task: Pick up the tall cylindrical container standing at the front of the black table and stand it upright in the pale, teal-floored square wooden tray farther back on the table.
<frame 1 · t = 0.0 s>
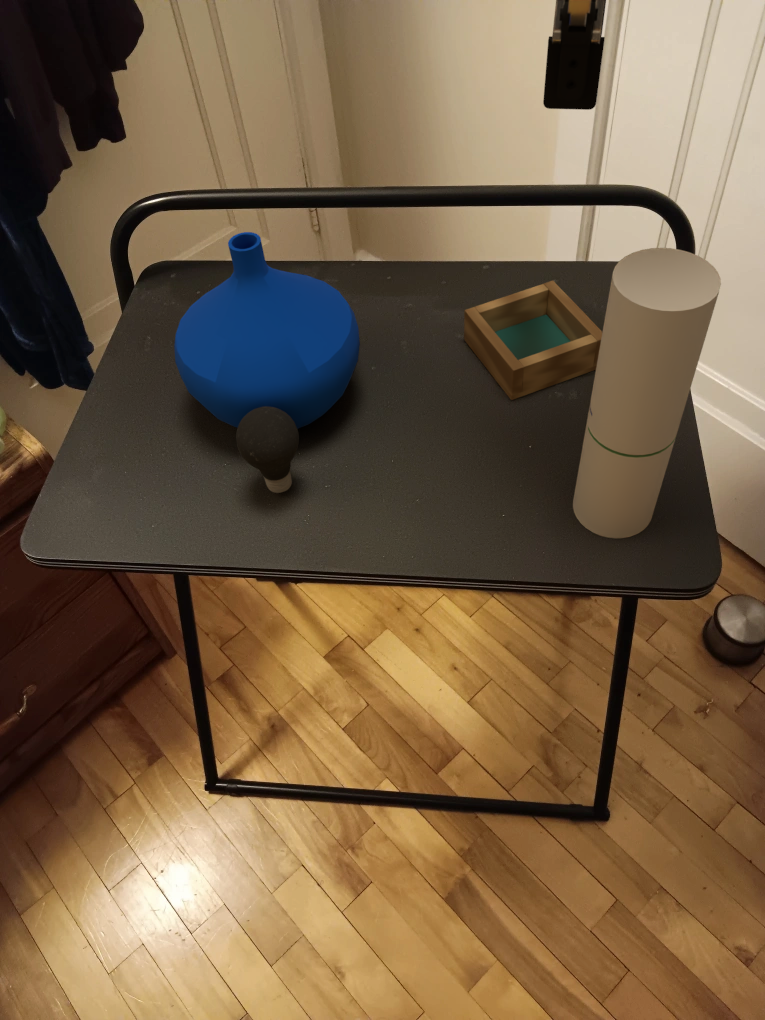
hand: (573, 71, 54), 35 cm above the table, tool pointing down, fingers open, 9 cm apart
light bulb: (281, 489, 80), on the table
cylindrical container: (612, 508, 76), on the table
square wooden tray: (531, 353, 90), on the table
vase: (280, 399, 88), on the table
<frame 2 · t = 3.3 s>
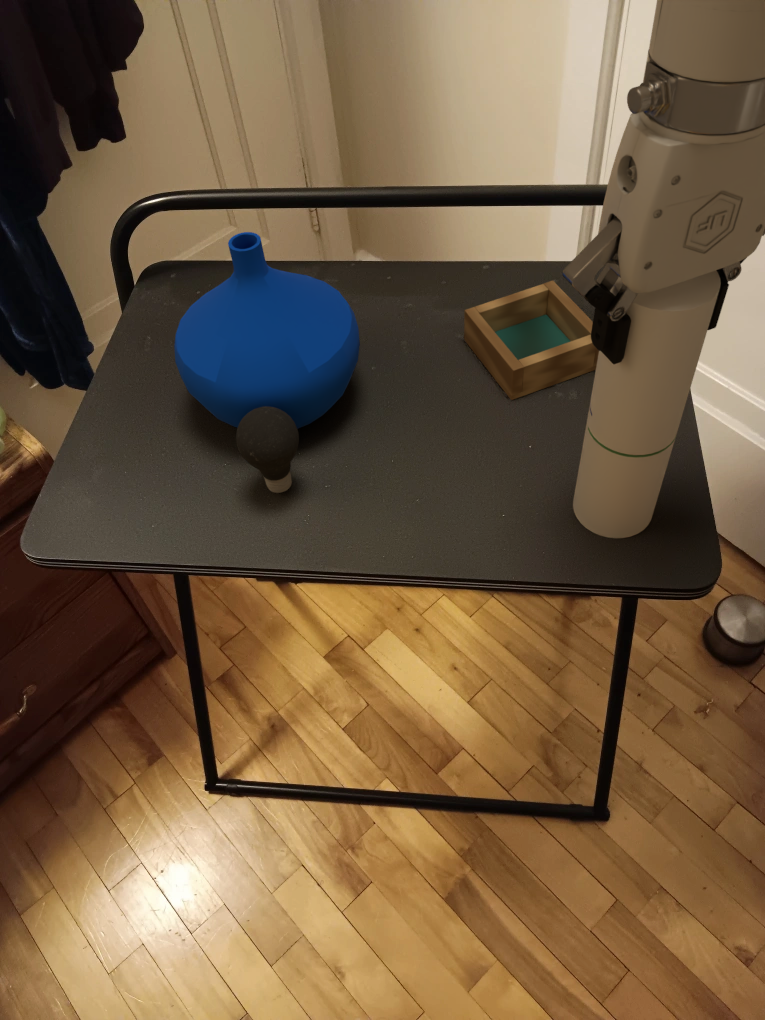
hand: (653, 333, 60), 20 cm above the table, tool pointing down, fingers closed on cylindrical container, 7 cm apart
cylindrical container: (612, 508, 76), on the table, touching gripper
everything else where it was.
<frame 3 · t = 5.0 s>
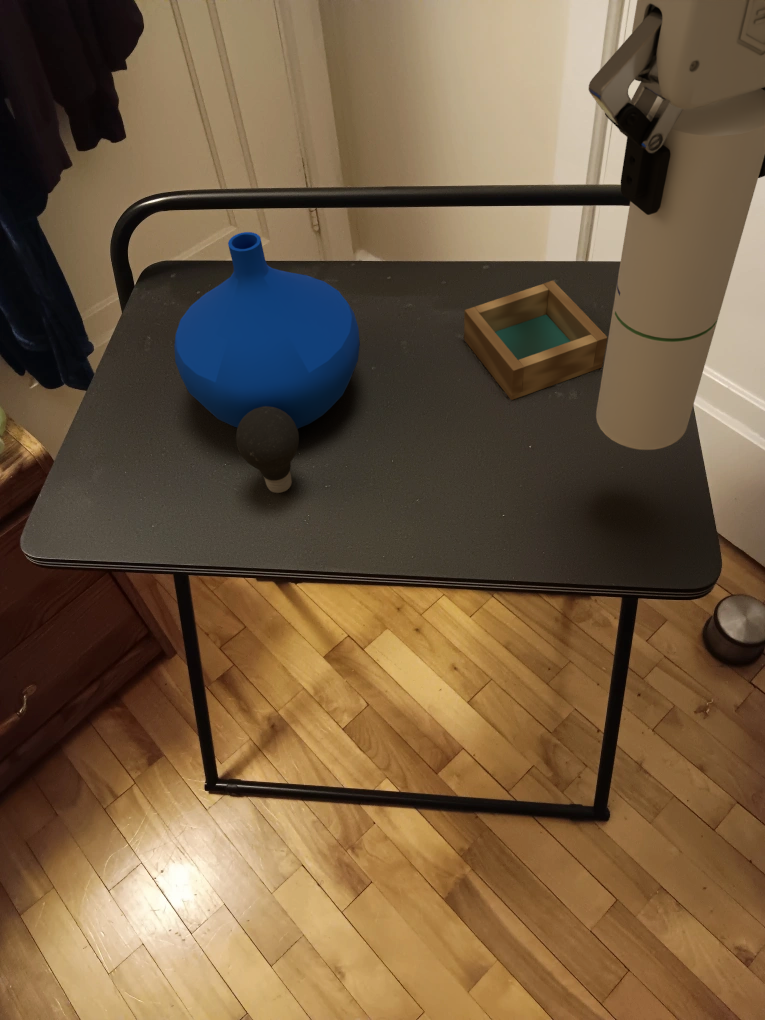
hand: (693, 183, 51), 32 cm above the table, tool pointing down, fingers closed on cylindrical container, 7 cm apart
cylindrical container: (641, 419, 67), point 12 cm above the table, touching gripper
everything else where it was.
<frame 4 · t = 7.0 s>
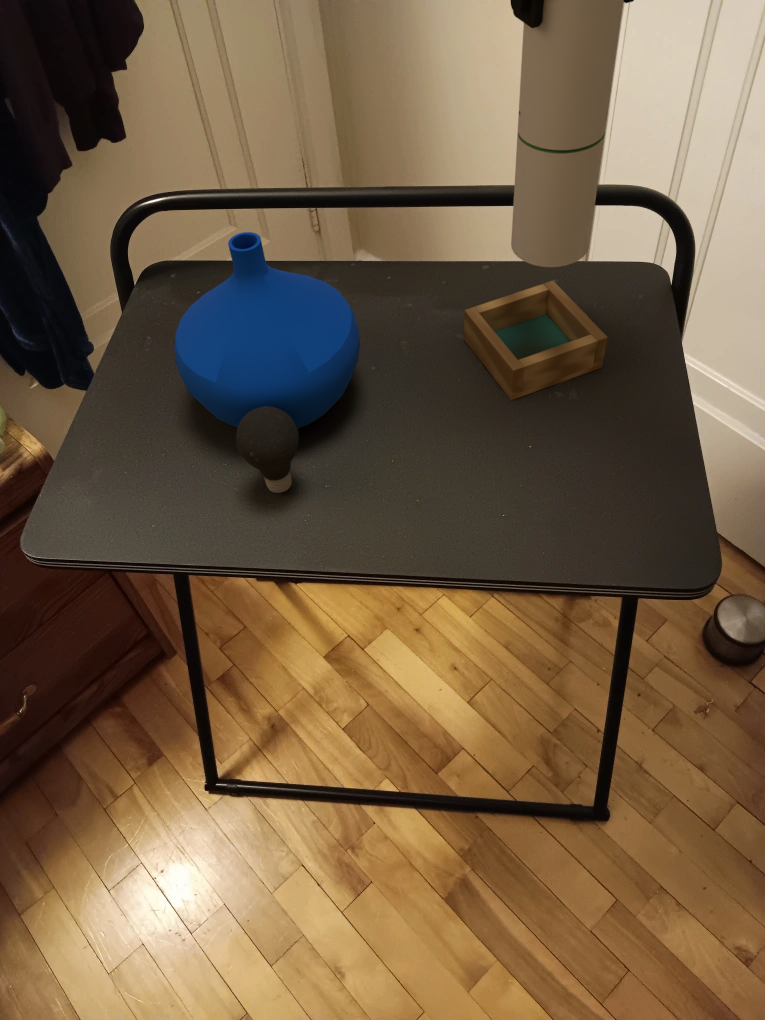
hand: (573, 6, 61), 35 cm above the table, tool pointing down, fingers closed on cylindrical container, 7 cm apart
cylindrical container: (549, 246, 77), point 15 cm above the table, touching gripper
everything else where it was.
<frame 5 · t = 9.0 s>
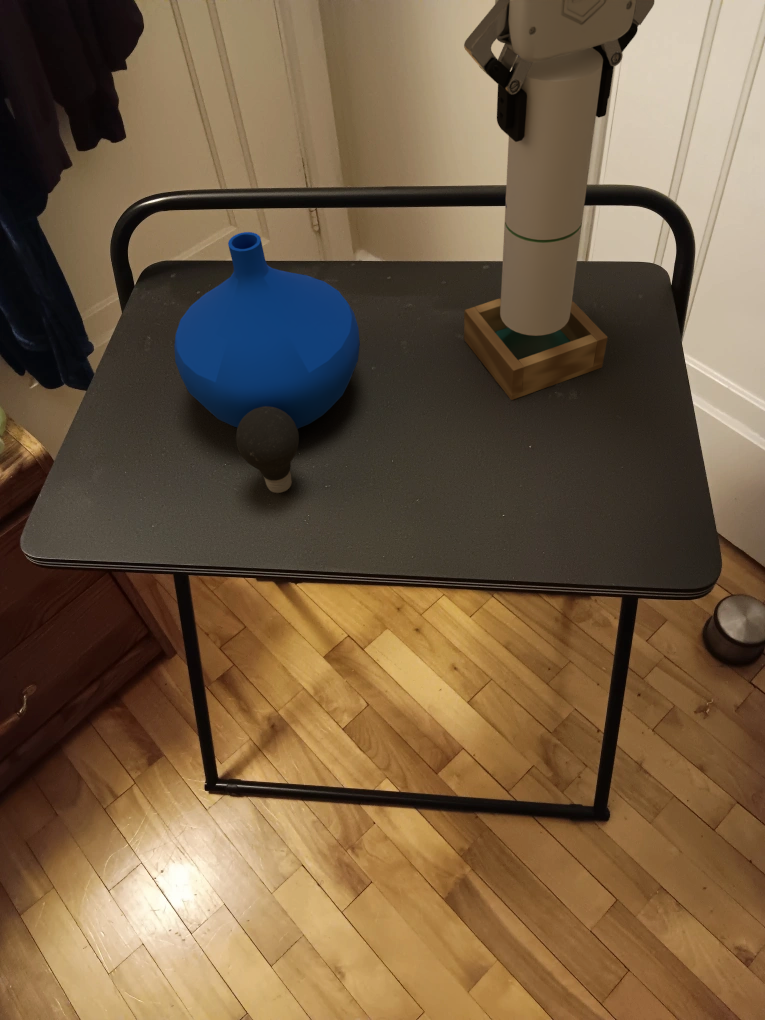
hand: (552, 120, 70), 26 cm above the table, tool pointing down, fingers closed on cylindrical container, 7 cm apart
cylindrical container: (534, 314, 86), point 5 cm above the table, touching gripper
everything else where it was.
when the fingers open (21 cm above the table, at t = 10.7 s): cylindrical container stays where it is, resting on square wooden tray.
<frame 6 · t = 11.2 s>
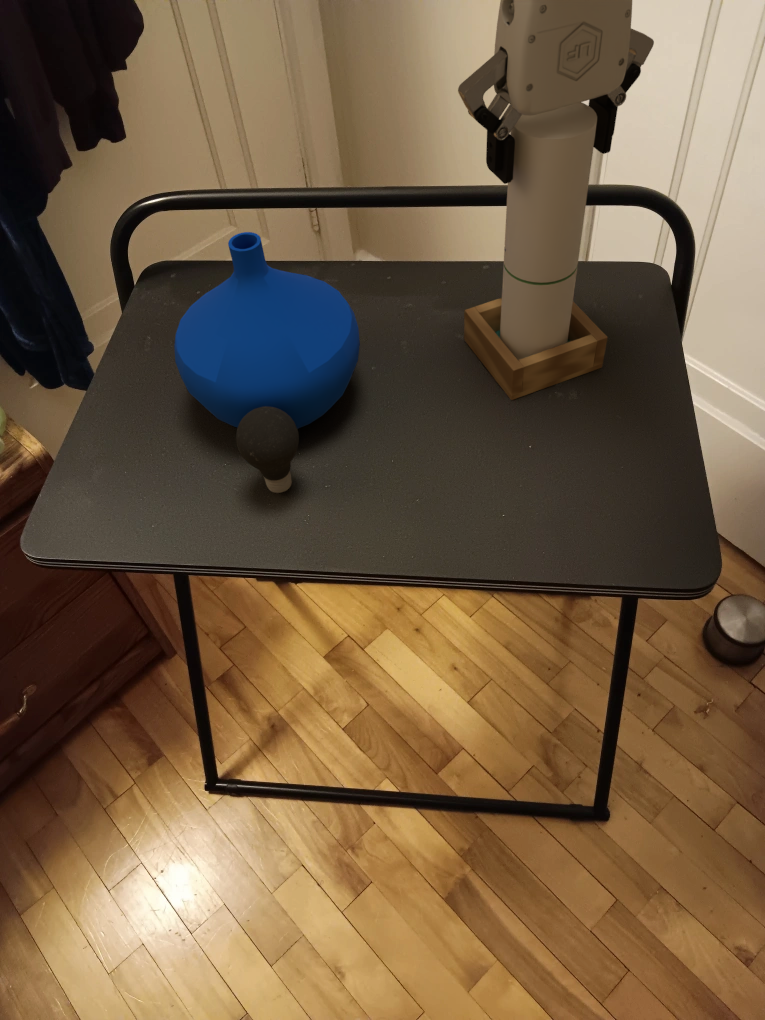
hand: (549, 161, 73), 22 cm above the table, tool pointing down, fingers open, 9 cm apart
cylindrical container: (532, 349, 89), point 1 cm above the table, touching square wooden tray
everything else where it was.
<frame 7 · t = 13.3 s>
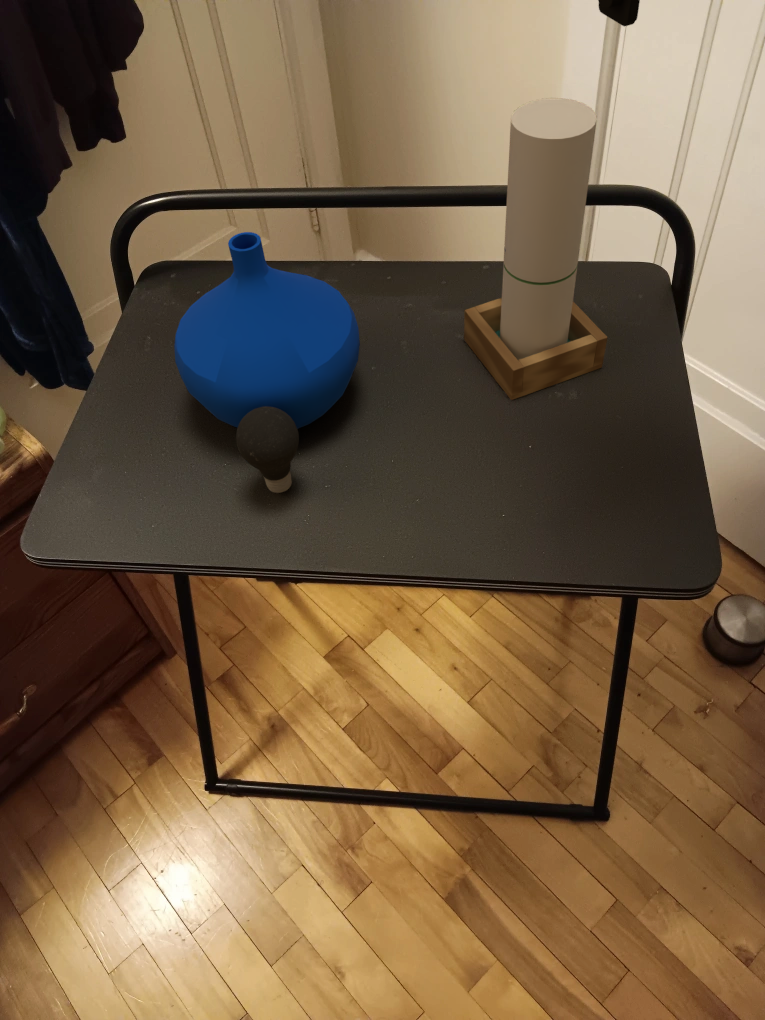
nothing on the table moved.
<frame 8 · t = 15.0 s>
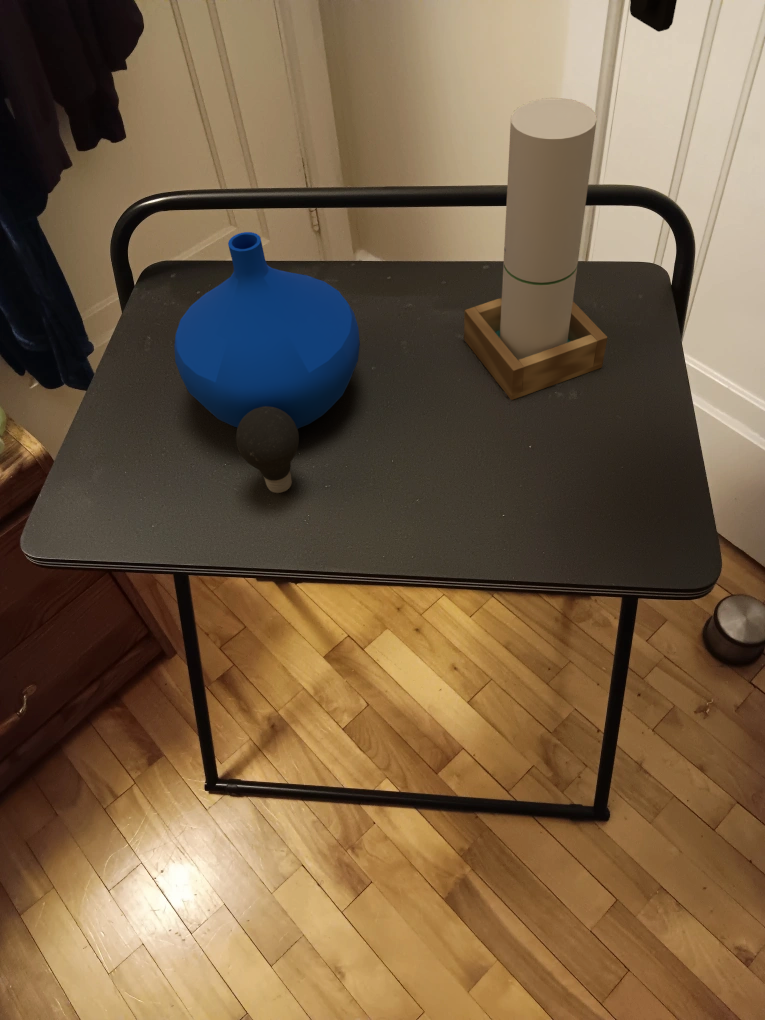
hand: (721, 2, 48), 40 cm above the table, tool pointing down, fingers open, 9 cm apart
nothing on the table moved.
at the end: cylindrical container 0.1 cm off-centre in the square wooden tray, point 0.6 cm above the square wooden tray's base; cylindrical container tilted 0°; the gripper is holding nothing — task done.
